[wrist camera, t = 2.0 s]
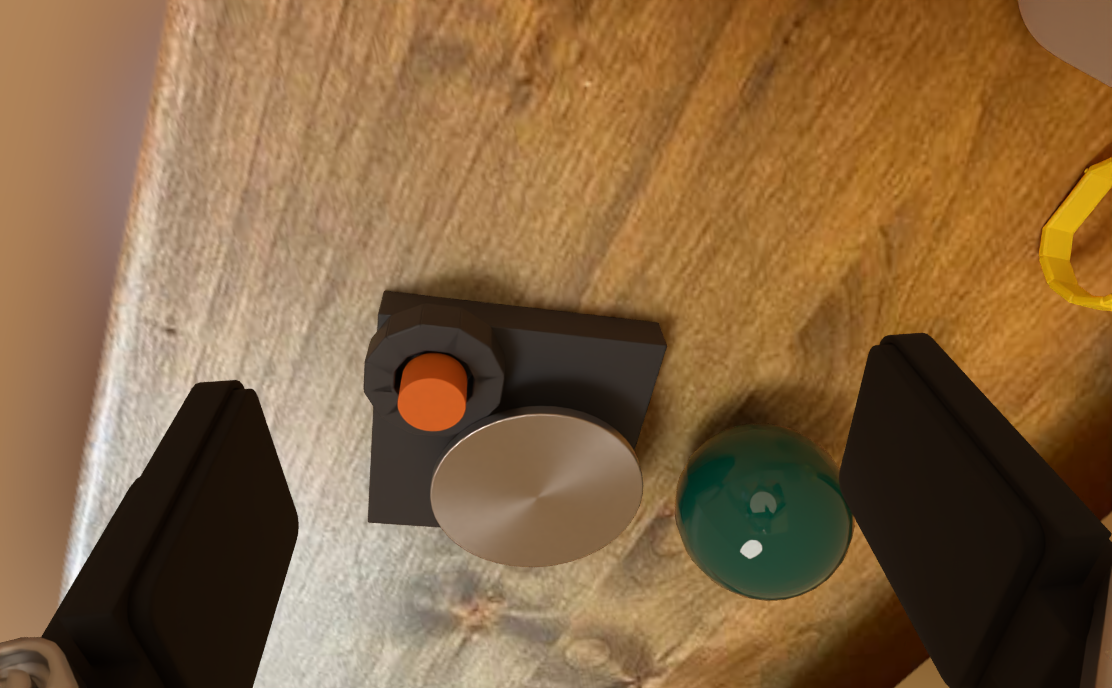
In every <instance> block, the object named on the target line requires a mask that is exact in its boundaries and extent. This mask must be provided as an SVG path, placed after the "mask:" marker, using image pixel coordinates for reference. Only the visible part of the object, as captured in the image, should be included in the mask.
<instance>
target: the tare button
mask: <svg viewBox="0 0 1112 688" xmlns="http://www.w3.org/2000/svg"><path fill="white" fill-rule="evenodd" d="M466 397H467V374H466V371H465V369H464V367H463V366H462V365H461V364H460V363H459V362H458V361H457V360H456V359H454V358H453V357H451V356H448V355H446V354H442V353H425V354H421V355H419V356H417V357H415V358H413V359H412V360H411V361H410V362H409V363H408V364H407V365H406V366H405V368H404V370H403V374H402V379H401V385H400V390H399V396H398V410H399V412H400V414H401V416H402V417H403V419H404V420H405V421H406V422H407V423H409V424H410V425H412V426H413V427H416V428H418V429H421V430H425V431H441V430H445V429H448V428H450V427H452V426H454V425H455V424H457V423H458V422H459V421H460V420H461V418H462V417H463V415H464V413H465V410H466Z"/></svg>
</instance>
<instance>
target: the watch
mask: <svg viewBox="0 0 1112 688" xmlns="http://www.w3.org/2000/svg"><path fill="white" fill-rule="evenodd" d="M1084 172H1086V173H1085V174H1084V176H1083V177H1082V178H1081V179H1080V181H1079V182H1078V183H1077V185H1076V186H1075V187H1074V188H1073V190H1072V191H1071V193H1070V194H1069V195H1068V196H1067V198H1066V199H1065V200H1064V202H1063V203H1062V204H1061V205H1060V207H1059V208H1058V209H1057V211H1056V212H1055V213H1054V214H1053V216H1052V217H1051V218H1050V219H1049V221H1048V222H1047V223H1046V225H1045V226H1044V227H1043V228H1042V236H1041V243H1040V250H1039V257H1040V259H1039V262H1040V265H1041V268H1042V270H1043V273H1044V276H1045V279H1046V282H1047V284H1049V287H1050V288H1051V289H1052V290H1054V291H1055V292H1056V293H1057V294H1059V295H1060V296H1061V297H1063V298H1064V299H1065V300H1067V301H1068V302H1070V303H1073V304H1076V305H1080V306H1084V307H1088V308H1092V309H1097V310H1106V311H1112V294H1109V295H1107V296H1105V297H1104V296H1092V295H1091V294H1090V293H1088V292H1087V291H1086V290H1084V289H1083V288H1081V287H1080V286H1078V282H1077V280H1076V277H1075V274H1074V272H1073V269H1072V266H1071V264H1070V255H1071V248H1072V240H1073V234H1074V232H1075V231H1076V230H1077V229H1078V228H1079V226H1080V225H1081V224H1082V223H1083V221H1084V220H1085V219H1086V218H1087V217H1088V215H1089V214H1090V213H1091V212H1092V210H1093V209H1094V208H1095V207H1096V205H1097V204H1098V203H1099V202H1100V201H1101V199H1102V198H1103V197H1104V196H1105V194H1106V193H1107V192H1108V191H1109V190H1110V188H1111V187H1112V157H1110V158H1108V159H1106V160H1103V161H1101V162H1099V163H1097V164H1094V165H1092V166H1090V167H1089V169H1087V168H1086V170H1085V171H1084Z"/></svg>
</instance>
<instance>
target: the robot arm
mask: <svg viewBox="0 0 1112 688" xmlns="http://www.w3.org/2000/svg"><path fill="white" fill-rule="evenodd" d="M839 485H840V490H841V493H842V495H843V498H844V500H845V501H846V503H847V505H848V507H849V509H850V511H851V512H852V514H853V516H854V518H855V520H856V522H857V523H858V525H859V527H860V529H861V531H862V533H863V534H864V536H865V538H866V540H867V542H868V544H869V545H870V547H871V549H872V551H873V553H874V555H875V556H876V558H877V560H878V562H879V564H880V566H881V567H882V569H883V571H884V573H885V575H886V577H887V578H888V580H889V582H890V584H891V586H892V587H893V589H894V591H895V593H896V595H897V597H898V598H899V600H900V602H901V604H902V606H903V608H904V609H905V611H906V613H907V615H908V617H909V619H910V620H911V622H912V624H913V626H914V628H915V630H916V631H917V633H918V635H919V637H920V639H921V641H922V642H923V644H924V646H925V648H926V650H927V652H928V653H929V655H930V657H931V659H932V661H933V663H934V664H935V666H936V668H937V670H938V672H939V674H940V675H941V677H942V679H943V680H944V682H945V683H946V684H947V685H948V686H949V687H950V688H1112V542H1111V541H1110V540H1109V538H1110V536H1111V532H1110V531H1109V530H1108V529H1107V528H1106V527H1105V526H1104V525H1103V524H1102V523H1101V522H1100V520H1099V519H1098V518H1097V517H1096V516H1095V515H1094V514H1093V513H1092V512H1091V511H1090V510H1089V508H1088V507H1087V506H1086V505H1085V504H1084V503H1083V502H1082V501H1081V500H1080V499H1079V498H1078V496H1077V495H1076V494H1075V493H1074V492H1073V491H1072V490H1071V489H1070V488H1069V487H1068V486H1067V484H1066V483H1065V482H1064V481H1063V480H1062V479H1061V478H1060V477H1059V476H1058V475H1057V474H1056V472H1055V471H1054V470H1053V469H1052V468H1051V467H1050V466H1049V465H1048V464H1047V463H1046V462H1045V460H1044V459H1043V458H1042V457H1041V456H1040V455H1039V454H1038V453H1037V452H1036V451H1035V450H1034V448H1033V447H1032V446H1031V445H1030V444H1029V443H1028V442H1027V441H1026V440H1025V439H1024V438H1023V436H1022V435H1021V434H1020V433H1019V432H1018V431H1017V430H1016V429H1015V428H1014V427H1013V426H1012V424H1011V423H1010V422H1009V421H1008V420H1007V419H1006V418H1005V417H1004V416H1003V415H1002V414H1001V413H1000V411H999V410H998V409H997V408H996V407H995V406H994V405H993V404H992V403H991V402H990V401H989V399H988V398H987V397H986V396H985V395H984V394H983V393H982V392H981V391H980V390H979V389H978V387H977V386H976V385H975V384H974V383H973V382H972V381H971V380H970V379H969V378H968V377H967V375H966V374H965V373H964V372H963V371H962V370H961V369H960V368H959V367H958V366H957V365H956V363H955V362H954V361H953V360H952V359H951V358H950V357H949V356H948V355H947V354H946V353H945V351H944V350H943V349H942V348H941V347H940V346H939V345H938V344H937V343H936V342H935V341H934V339H933V338H932V337H930V336H929V335H928V334H925V333H913V334H899V335H888V336H885V337H884V338H883V339H882V340H881V342H880V345H875V346H873V347H872V348H871V349H870V352H869V354H868V358H867V362H866V366H865V370H864V374H863V379H862V383H861V387H860V391H859V395H858V399H857V403H856V407H855V411H854V415H853V419H852V423H851V427H850V431H849V435H848V439H847V443H846V447H845V451H844V456H843V460H842V464H841V468H840V472H839ZM298 529H299V522H298V515H297V512H296V509H295V506H294V503H293V500H292V497H291V494H290V491H289V488H288V485H287V482H286V479H285V476H284V473H283V470H282V467H281V464H280V461H279V458H278V455H277V452H276V449H275V446H274V443H273V440H272V437H271V434H270V432H269V429H268V426H267V423H266V420H265V417H264V414H263V411H262V408H261V405H260V402H259V399H258V396H257V394H256V392H255V391H254V390H253V389H244V386H243V385H242V384H241V382H240V381H237V380H230V381H215V382H200V383H197V384H195V385H194V387H193V388H192V389H191V391H190V393H189V394H188V396H187V398H186V399H185V401H184V403H183V405H182V406H181V408H180V410H179V411H178V413H177V415H176V417H175V418H174V420H173V422H172V423H171V425H170V427H169V428H168V430H167V432H166V434H165V435H164V437H163V439H162V440H161V442H160V444H159V446H158V447H157V449H156V451H155V452H154V454H153V456H152V458H151V459H150V461H149V463H148V464H147V466H146V468H145V469H144V471H143V473H142V475H141V476H140V477H139V478H137V479H136V480H135V482H134V483H133V484H132V485H131V487H130V488H129V490H128V491H127V493H126V495H125V496H124V498H123V500H122V501H121V503H120V505H119V507H118V508H117V510H116V512H115V513H114V515H113V517H112V518H111V520H110V522H109V523H108V525H107V527H106V528H105V530H104V532H103V534H102V535H101V537H100V539H99V540H98V542H97V544H96V545H95V547H94V549H93V550H92V552H91V554H90V556H89V557H88V559H87V561H86V562H85V564H84V566H83V567H82V569H81V571H80V572H79V574H78V576H77V577H76V579H75V581H74V583H73V584H72V586H71V588H70V589H69V591H68V593H67V594H66V596H65V598H64V599H63V601H62V603H61V604H60V606H59V608H58V610H57V611H56V613H55V615H54V616H53V618H52V620H51V621H50V623H49V625H48V627H47V628H46V630H45V632H44V633H43V635H42V637H30V638H28V637H24V638H18V639H14V640H10V641H6V642H2V643H0V688H253V684H254V681H255V678H256V674H257V671H258V668H259V664H260V661H261V658H262V654H263V651H264V648H265V644H266V641H267V638H268V634H269V631H270V628H271V624H272V621H273V618H274V614H275V611H276V608H277V604H278V601H279V597H280V594H281V591H282V587H283V584H284V581H285V577H286V574H287V571H288V567H289V564H290V561H291V557H292V554H293V551H294V547H295V544H296V541H297V536H298Z"/></svg>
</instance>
